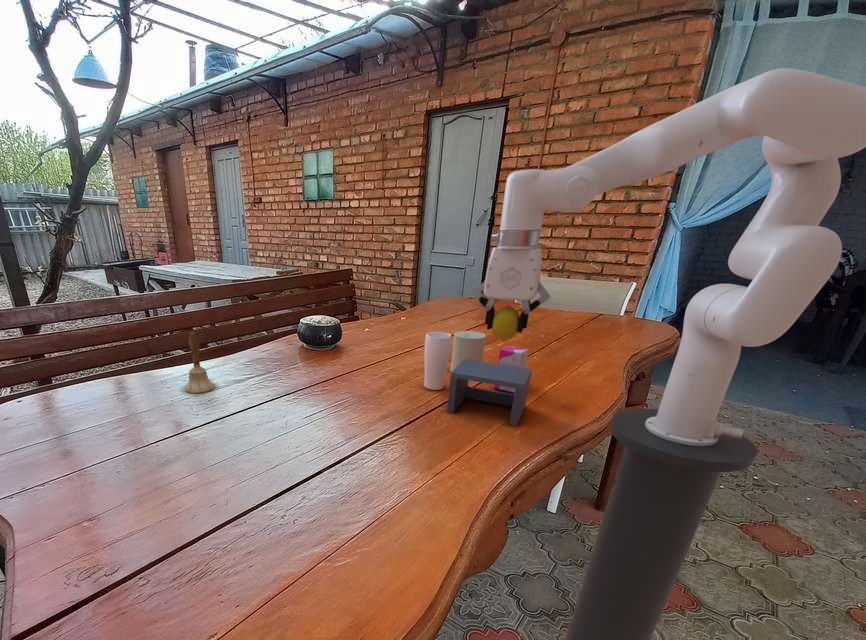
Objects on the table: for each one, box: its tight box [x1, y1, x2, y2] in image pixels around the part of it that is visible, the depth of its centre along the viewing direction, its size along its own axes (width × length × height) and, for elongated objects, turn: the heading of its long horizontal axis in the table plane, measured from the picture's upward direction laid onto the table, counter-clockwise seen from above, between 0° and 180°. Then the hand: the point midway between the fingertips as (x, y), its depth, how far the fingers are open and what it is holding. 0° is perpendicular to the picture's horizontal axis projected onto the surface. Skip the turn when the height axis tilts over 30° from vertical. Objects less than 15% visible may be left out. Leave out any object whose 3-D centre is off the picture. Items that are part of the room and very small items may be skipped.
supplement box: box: [493, 345, 529, 394], centre depth 114 cm, size 6×6×12 cm
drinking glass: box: [423, 331, 452, 391], centre depth 115 cm, size 7×7×15 cm
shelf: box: [446, 359, 533, 427], centre depth 102 cm, size 16×12×10 cm
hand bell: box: [183, 331, 216, 394], centre depth 117 cm, size 8×8×16 cm
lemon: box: [491, 304, 520, 343], centre depth 91 cm, size 6×6×8 cm
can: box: [449, 330, 487, 373], centre depth 128 cm, size 9×9×12 cm
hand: (504, 328), depth 92 cm, fingers closed on lemon, 5 cm apart
